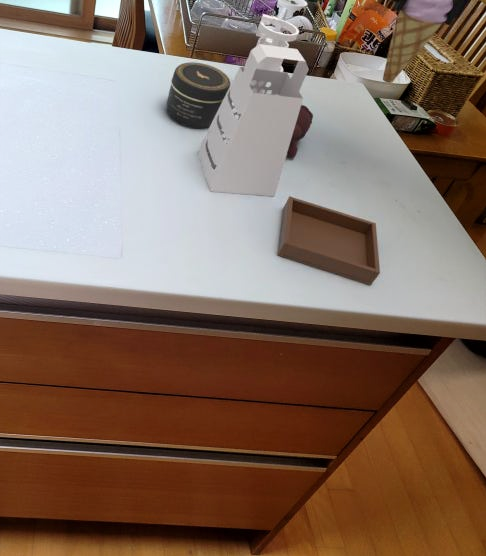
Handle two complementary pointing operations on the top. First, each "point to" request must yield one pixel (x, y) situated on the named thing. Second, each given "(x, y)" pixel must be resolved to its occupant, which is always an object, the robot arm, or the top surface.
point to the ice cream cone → (414, 32)
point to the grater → (254, 126)
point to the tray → (329, 240)
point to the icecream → (300, 129)
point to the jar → (196, 94)
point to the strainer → (273, 43)
